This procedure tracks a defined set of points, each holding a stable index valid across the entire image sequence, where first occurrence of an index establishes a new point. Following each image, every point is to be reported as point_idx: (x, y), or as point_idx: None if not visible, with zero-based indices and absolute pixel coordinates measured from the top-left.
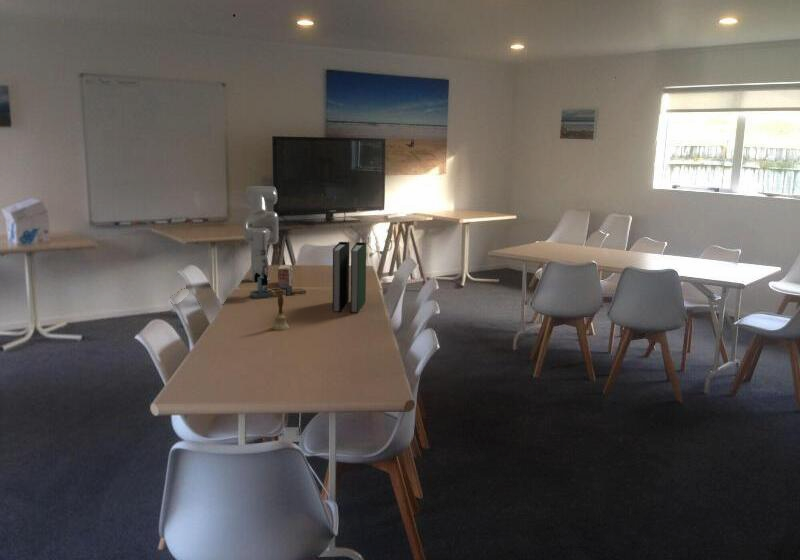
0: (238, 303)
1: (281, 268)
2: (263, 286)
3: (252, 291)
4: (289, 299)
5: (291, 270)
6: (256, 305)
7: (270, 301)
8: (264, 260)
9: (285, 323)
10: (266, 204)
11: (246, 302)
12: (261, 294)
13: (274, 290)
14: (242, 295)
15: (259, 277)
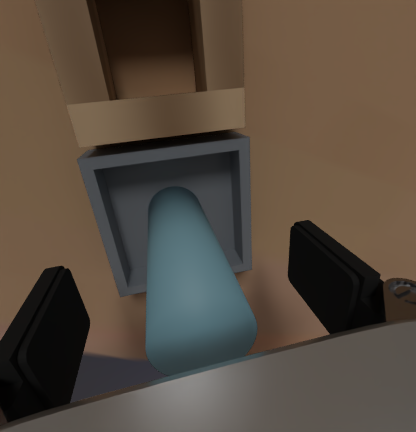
0: (294, 341)
1: None
2: (213, 232)
3: (125, 282)
4: (385, 2)
5: None
6: (382, 274)
7: (350, 182)
8: None
9: None
10: None
11: (295, 309)
12: (248, 231)
13: (100, 48)
14: (89, 315)
15: (197, 357)
